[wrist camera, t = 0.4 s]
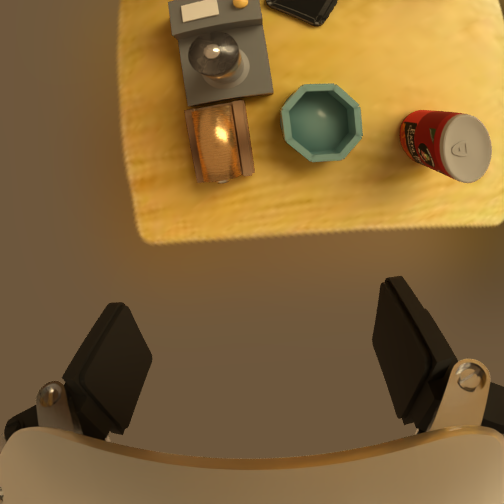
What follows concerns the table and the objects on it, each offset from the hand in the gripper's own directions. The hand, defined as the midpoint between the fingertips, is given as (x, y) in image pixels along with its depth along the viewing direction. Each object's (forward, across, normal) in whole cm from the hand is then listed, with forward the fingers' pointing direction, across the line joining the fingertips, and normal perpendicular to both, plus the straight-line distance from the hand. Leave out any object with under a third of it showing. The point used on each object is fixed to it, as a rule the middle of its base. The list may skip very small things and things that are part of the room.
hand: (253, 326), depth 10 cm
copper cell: (+26, +4, -4) cm, 27 cm away
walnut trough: (+28, +4, -5) cm, 29 cm away
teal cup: (+28, -8, -6) cm, 29 cm away
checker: (+28, +2, -17) cm, 33 cm away
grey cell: (+26, +2, -14) cm, 29 cm away
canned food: (+28, -23, -4) cm, 36 cm away
